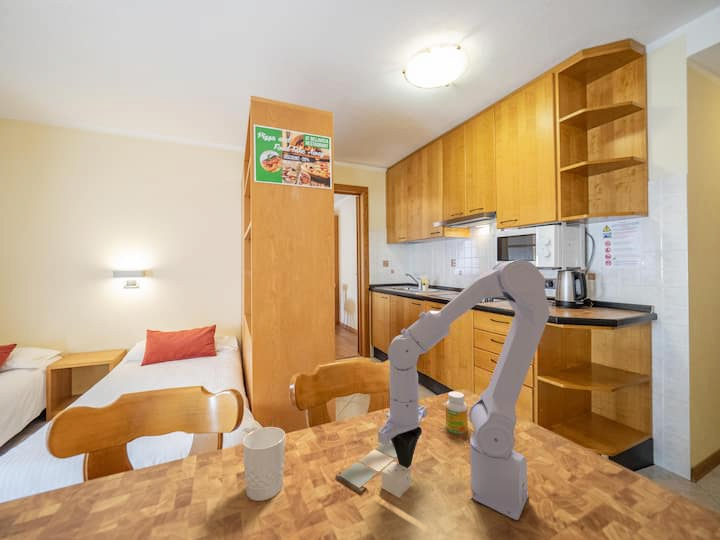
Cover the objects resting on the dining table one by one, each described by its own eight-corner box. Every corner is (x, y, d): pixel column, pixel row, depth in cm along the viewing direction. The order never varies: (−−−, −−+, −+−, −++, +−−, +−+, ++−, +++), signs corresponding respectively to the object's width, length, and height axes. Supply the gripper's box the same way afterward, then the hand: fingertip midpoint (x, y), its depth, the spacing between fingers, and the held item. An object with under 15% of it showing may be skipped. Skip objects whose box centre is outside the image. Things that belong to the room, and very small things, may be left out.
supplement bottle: (446, 435, 76) (445, 397, 77) (446, 425, 82) (445, 389, 82) (468, 438, 75) (467, 399, 75) (467, 427, 80) (466, 391, 80)
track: (424, 439, 74) (424, 436, 74) (361, 494, 56) (361, 490, 56) (400, 430, 79) (400, 427, 79) (335, 478, 61) (335, 474, 61)
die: (411, 490, 57) (410, 469, 57) (399, 502, 54) (399, 480, 54) (393, 481, 60) (393, 461, 60) (381, 492, 57) (381, 471, 57)
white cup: (266, 470, 64) (266, 423, 64) (294, 483, 60) (293, 433, 60) (234, 494, 57) (233, 441, 57) (262, 510, 53) (262, 453, 53)
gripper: (406, 381, 68) (407, 441, 68) (365, 402, 57) (366, 474, 57) (435, 389, 63) (435, 453, 63) (395, 414, 52) (396, 492, 52)
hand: (404, 464), depth 60 cm, fingers closed
